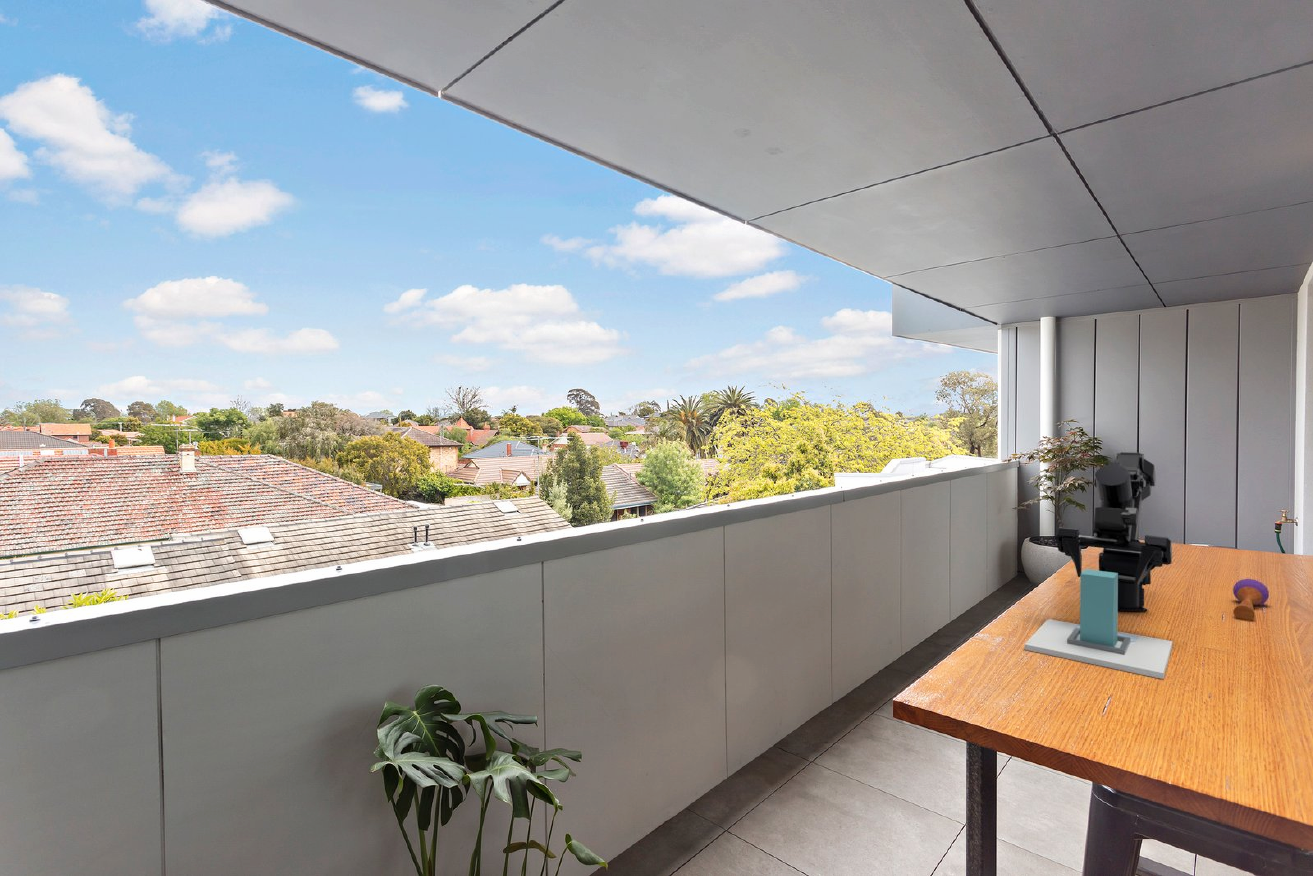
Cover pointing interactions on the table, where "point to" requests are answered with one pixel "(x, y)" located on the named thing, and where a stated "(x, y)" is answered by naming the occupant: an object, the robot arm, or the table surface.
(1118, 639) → the board
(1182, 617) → the table surface
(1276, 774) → the table surface
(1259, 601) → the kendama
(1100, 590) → the column
